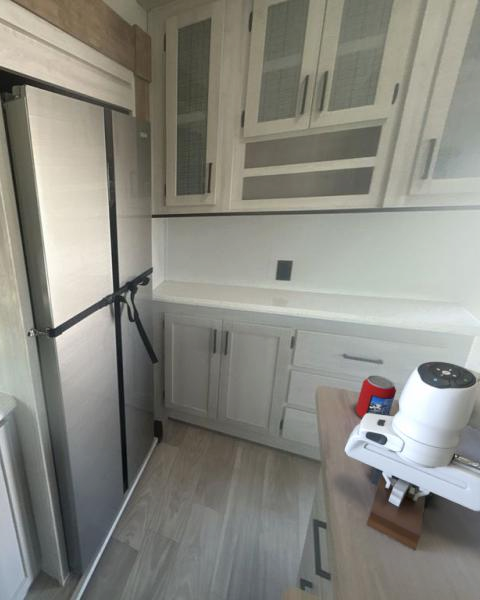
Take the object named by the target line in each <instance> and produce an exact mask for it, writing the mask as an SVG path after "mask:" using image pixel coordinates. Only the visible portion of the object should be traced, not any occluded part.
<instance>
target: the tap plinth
mask: <svg viewBox="0 0 480 600" xmlns="http://www.w3.org/2000/svg"><path fill="white" fill-rule="evenodd" d="M386 483H387V482H386V480H385V478H384V477H382V476H380V478H379V481H378V484H377V485H376V487H375V490H374V494H373V498H372V502H371V506H370V508H369V509H370V510H369V512H368V513H369V514H368V518H367V521H366V525H367V526H369V527H370V528H372V529H374V530H376V531H378V532H380V533H381V534H384V535H386V536H387V537H389V538H392V539H393V540H395V541H397V542H398V543H401V544H402V545H404V546H406V547H408V548H409V549H412V550H414V551H415V550H416V548H417V545H418V543H419V541H420V538H421V535H422V526H423V518H424V510H425V507H424V502H425V495H424V496H420V497H419V496H418V499H417V501H414V500H412V499H410V498H408V497H406V496H407V494H406V496H405V498H404V499H403V501H402V502H401V504H400V506H399V507H398V506H396V505H394V504H393V503H391V502H389V498H390V495H391V493H392V490H390V489H388V488H386Z"/></svg>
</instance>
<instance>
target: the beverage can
mask: <svg viewBox="0 0 480 600" xmlns="http://www.w3.org/2000/svg"><path fill="white" fill-rule="evenodd" d="M396 393H397V389H396V386H395V383H394V382H393V380H391V379H389V378H387V377H385V376H381V375H369V376H368V377H367V378H365V379H364V380H363V382H362V385H361V388H360V392H359V396H358V399H357V403H356V408H355V412H356V414H357V415H358V416H359V417H361V418H363V417H364V415H365V414H367V413H372V414H379V415H387V416H390V413H391V412H390V411H391V409H392V406H393V403H394V400H395V396H396Z"/></svg>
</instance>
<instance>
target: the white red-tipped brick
mask: <svg viewBox="0 0 480 600" xmlns="http://www.w3.org/2000/svg"><path fill="white" fill-rule="evenodd" d="M412 485H413V484H412V483H409V482H407V481H405V480H402V479H400V478H399V480H398V481H397V483H396V484H395V486H394V487H393V490H392V493H391V495H390V498H389V502H391V503H393V504H394V505H396V506H398V507H399V506H400V504H401V502H402V501H403V499H404V498H405V496H406V494H407V492H408V489H409V487H411V486H412Z"/></svg>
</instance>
